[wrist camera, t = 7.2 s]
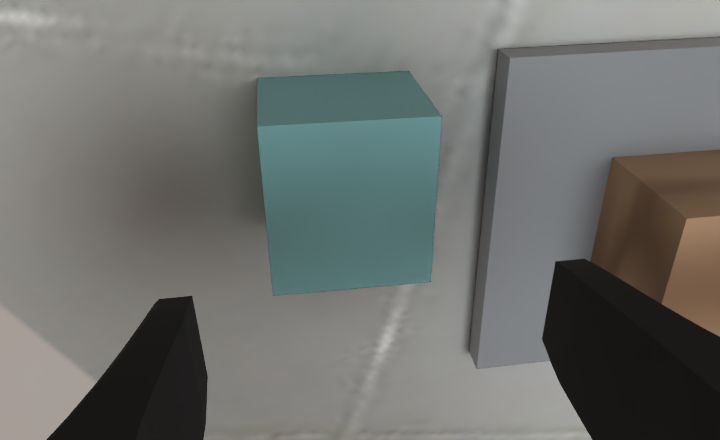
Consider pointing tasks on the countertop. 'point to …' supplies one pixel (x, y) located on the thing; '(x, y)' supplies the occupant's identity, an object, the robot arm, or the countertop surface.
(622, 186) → the walnut brick
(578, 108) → the baseplate
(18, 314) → the countertop surface
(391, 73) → the teal brick
